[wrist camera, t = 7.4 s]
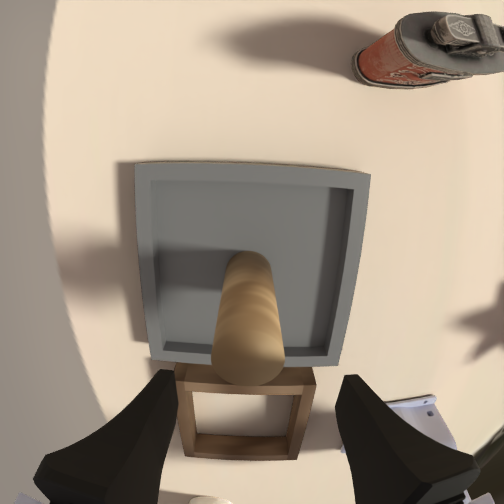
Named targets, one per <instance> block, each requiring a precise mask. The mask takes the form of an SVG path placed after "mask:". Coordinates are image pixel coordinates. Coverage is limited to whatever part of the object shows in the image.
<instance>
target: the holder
mask: <svg viewBox="0 0 504 504" xmlns="http://www.w3.org/2000/svg"><path fill="white" fill-rule="evenodd" d="M174 373H175V380H176V388H177V395H178V402H179V405H178V411H177V418H178V424H179V429H180V434H181V439H182V444H183V449H184V454H185V456H187V457H197V458H208V459H223V460H250V461H275V460H297V457H298V454H299V450H300V447H301V443H302V440H303V436H304V433H305V429H306V425H307V421H308V418H309V414H310V410H311V406H312V402H313V398H314V394H315V390H316V381H315V377H314V373H313V369H312V367H283V369H282V370H281V372H280V373H279V374H278V375H277V376H276V377H275V378H274V379H273V380H271V381H269V382H267V383H265V384H262V385H258V386H238V385H234V384H232V383H229V382H227V381H225V380H224V379H222V378H221V377H220V376H219V375H218V374H217V373H216V372H215V370H214V369H213V367H212V365H207V364H193V363H181V362H177V363H176V366H175V369H174ZM192 391H194V392H207V393H224V394H248V395H294V399H293V404H292V409H291V414H290V419H289V424H288V429H287V434H286V436H282V437H249V436H223V435H208V434H197V430H196V422H195V414H194V405H193V396H192Z"/></svg>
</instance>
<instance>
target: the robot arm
mask: <svg viewBox="0 0 504 504" xmlns="http://www.w3.org/2000/svg"><path fill="white" fill-rule="evenodd" d="M436 399H437V398H436V396H435V395H432V396H427V397H422V398H416V399H410V400H404V401H398V402H391V403H384V402H383V401H382V400H381V399H380V398H379V397H378V395H377V394H376V393H375V392H374V391H373V390H372V389H371V388H370V387H369V386H368V385H367V384H366V383H365V382H364V381H363V379H362V378H361V377H360V376H359V375H358V374H354V375H344V379H343V382H342V385H341V389H340V392H339V395H338V398H337V402H336V405H335V411H336V418H337V424H338V428H339V432H340V435H341V438H342V442H343V445H342V447H341V453H346V455H347V458H348V462H349V465H350V469H351V474H352V480H353V486H354V494H355V502H356V504H495V503H494V501H493V499H492V497H491V495H490V493H487V494H485V495H483V496H481V497H479V498H477V499H474V500H472V501H471V499H470V497H469V494H468V492H467V490H466V489H467V488H468V487H469V486H470V485H471V484H472V483H473V482H474V481H475V480H476V479H477V477H478V476H479V474H480V468H479V466H478V465H477V463H476V461H475V459H474V457H473V456H472V455H469V454H466V453H463V452H460V451H457V446H456V442H455V440H454V437H453V436H452V434H451V432H450V430H449V428H448V427H447V425H446V423H445V421H444V420H443V418H442V416H441V414H440V413H439V411H438V409H437V408H436V406H435V404H434V403H435V401H436ZM178 405H179V402H178V395H177V388H176V380H175V373H174V371H172V370H163V369H160V370H159V371H158V372H157V373H156V374H155V376H154V377H153V378H152V379H151V380H150V382H149V383H148V384H147V385H146V386H145V387H144V389H143V390H142V391H141V392H140V393H139V394H138V395H137V396H136V397H135V398H134V399H133V401H132V402H131V403H130V404H128V405H127V406H126V407H125V408H124V409H123V410H122V411H121V412H120V413H119V414H118V415H117V416H115V417H114V418H113V419H112V420H111V421H109V422H108V423H107V424H105V425H104V426H103V427H101V428H100V429H98V430H97V431H95V432H94V433H92V434H91V435H89V436H87V437H86V438H84V439H82V440H80V441H78V442H76V443H74V444H72V445H70V446H68V447H66V448H63V449H61V450H58V451H55V452H53V453H50V454H47V455H45V457H44V458H43V460H42V461H41V464H40V465H39V468H38V469H37V472H36V474H35V476H34V478H33V480H34V483H35V485H36V486H37V487H38V488H39V489H40V490H41V492H42V493H43V494H44V495H45V496H46V497H47V498H48V499H49V500H50V504H157V502H158V494H159V487H160V480H161V474H162V469H163V464H164V461H165V457H166V454H167V451H168V447H169V444H170V440H171V437H172V434H173V430H174V427H175V423H176V417H177V411H178ZM14 504H44V503H42V502H40V501H38V500H36V499H34V498H32V497H29V496H28V495H26V494H24V493H22V492H20V493H19V494H18V496H17V498H16V501H15V502H14Z"/></svg>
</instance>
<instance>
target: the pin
mask: <svg viewBox="0 0 504 504" xmlns="http://www.w3.org/2000/svg"><path fill="white" fill-rule="evenodd" d="M211 363H212V367H213V369H214V370H215V372H216V373H217V374H218V375H219V376H220V377H221V378H222V379H224V380H225V381H227V382H229V383H232V384H234V385H238V386H258V385H262V384H265V383H267V382H269V381H271V380H273V379H274V378H275V377H276V376H277V375H278V374H279V373H280V372H281V370H282V369H283V366H284V363H285V354H284V347H283V341H282V334H281V328H280V321H279V315H278V308H277V302H276V296H275V289H274V283H273V277H272V271H271V266H270V263H269V262H268V260H267V259H266V258H265V257H264V256H263V255H261V254H260V253H257V252H254V251H243V252H240V253H237V254H236V255H234V256H233V257H232V258H231V259H230V260H229V262H228V264H227V266H226V271H225V277H224V282H223V288H222V294H221V299H220V305H219V311H218V317H217V323H216V329H215V334H214V340H213V346H212V353H211Z"/></svg>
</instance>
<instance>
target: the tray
mask: <svg viewBox="0 0 504 504" xmlns="http://www.w3.org/2000/svg"><path fill="white" fill-rule="evenodd" d="M370 179H371V174H367V173H364V172H360V171H352V170H343V169H333V168H322V167H310V166H298V165H283V164H266V163H243V162H197V161H179V162H143V163H138V164H135V207H136V228H137V244H138V257H139V268H140V279H141V288H142V297H143V306H144V314H145V321H146V328H147V335H148V342H149V348H150V354H151V360H160V361H170V362H181V363H193V364H207V365H212V363H211V353H212V346H213V340H214V334H215V329H216V323H217V317H218V311H219V305H220V299H221V294H222V288H223V282H224V277H225V271H226V266H227V264H228V262H229V260H230V259H231V258H232V257H233V256H234V255H236V254H237V253H240V252H243V251H254V252H257V253H260V254H261V255H263V256H264V257H265V258H266V259H267V260H268V262H269V263H270V266H271V271H272V277H273V283H274V289H275V296H276V302H277V308H278V315H279V321H280V328H281V334H282V341H283V347H284V354H285V363H284V366H283V367H320V366H338V362H339V359H340V354H341V350H342V346H343V342H344V338H345V333H346V329H347V324H348V320H349V315H350V310H351V305H352V300H353V295H354V290H355V285H356V279H357V274H358V268H359V262H360V256H361V250H362V243H363V236H364V229H365V222H366V214H367V206H368V198H369V188H370Z"/></svg>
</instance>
